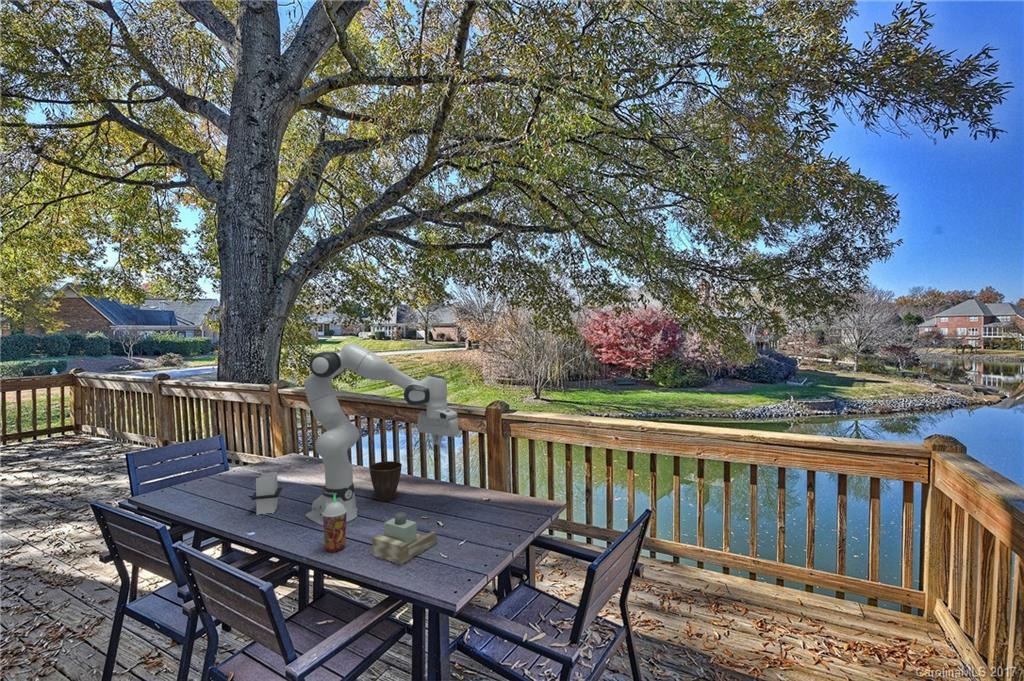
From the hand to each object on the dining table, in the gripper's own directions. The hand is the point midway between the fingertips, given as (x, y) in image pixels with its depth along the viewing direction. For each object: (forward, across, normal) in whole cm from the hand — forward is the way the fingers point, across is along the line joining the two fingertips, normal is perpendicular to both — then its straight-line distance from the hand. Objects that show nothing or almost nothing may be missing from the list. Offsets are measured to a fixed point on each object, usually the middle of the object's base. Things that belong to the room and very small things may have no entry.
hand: (437, 444), depth 201 cm
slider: (+29, +9, -32) cm, 44 cm away
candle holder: (+32, -70, -33) cm, 84 cm away
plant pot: (+31, -35, +4) cm, 47 cm away
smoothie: (+31, -14, -42) cm, 54 cm away
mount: (+31, +9, -29) cm, 44 cm away
